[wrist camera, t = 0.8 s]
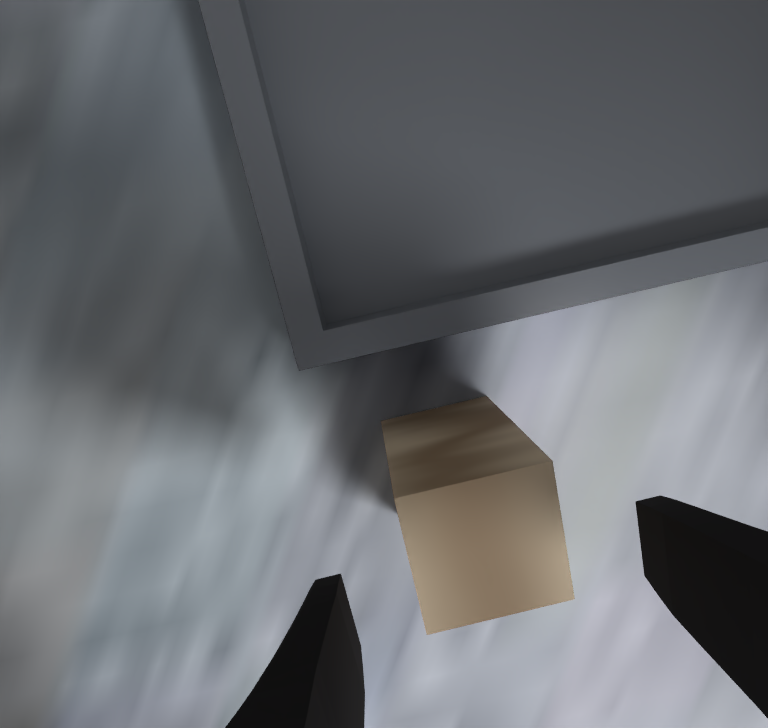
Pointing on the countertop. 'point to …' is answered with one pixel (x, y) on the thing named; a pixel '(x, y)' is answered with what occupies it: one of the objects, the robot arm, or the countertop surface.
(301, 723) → the robot arm
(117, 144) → the countertop surface
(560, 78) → the tray
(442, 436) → the maple block
